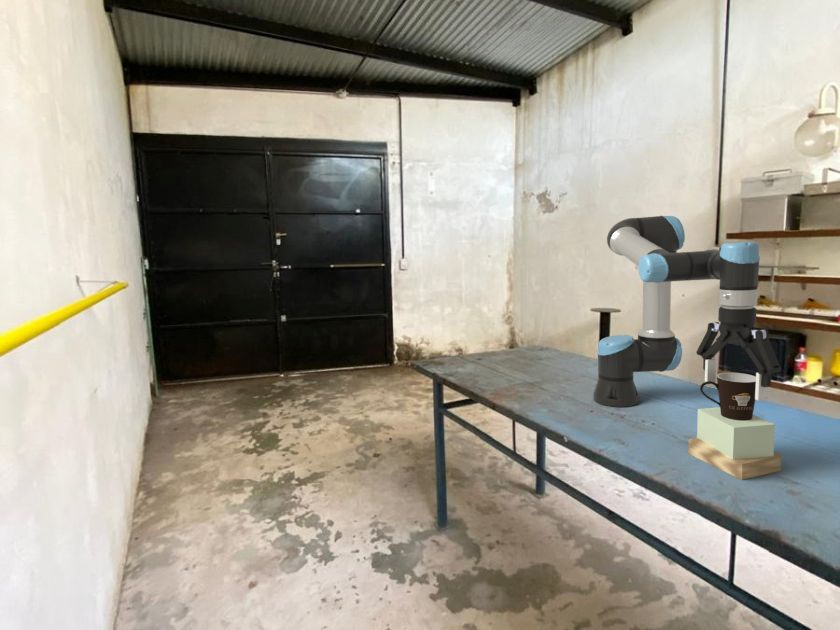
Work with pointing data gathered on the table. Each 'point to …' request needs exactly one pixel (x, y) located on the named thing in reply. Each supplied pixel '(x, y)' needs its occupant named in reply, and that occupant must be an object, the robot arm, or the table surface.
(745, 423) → the sage brick
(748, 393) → the coffee mug
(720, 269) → the robot arm
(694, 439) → the oak block
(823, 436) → the table surface
